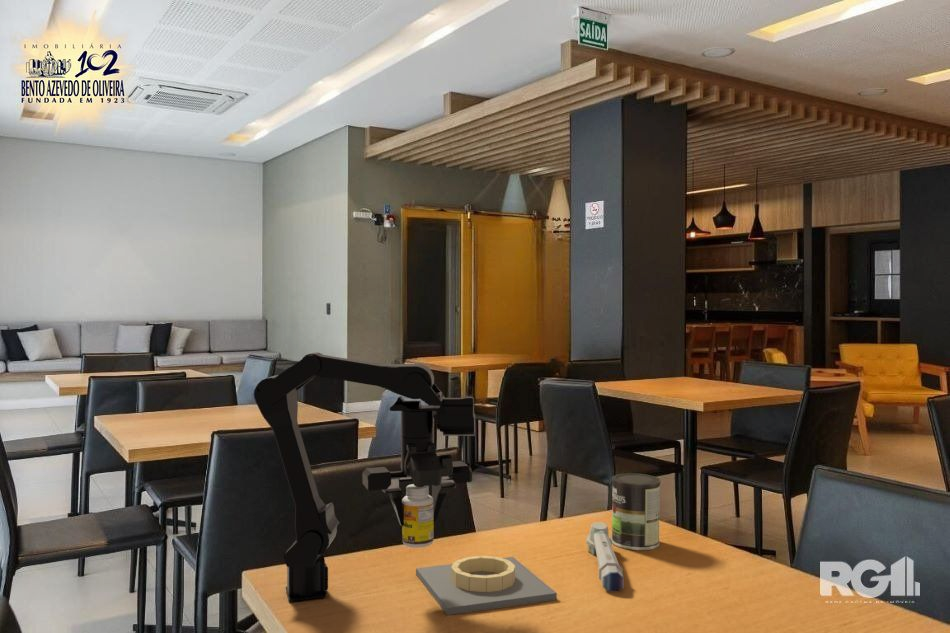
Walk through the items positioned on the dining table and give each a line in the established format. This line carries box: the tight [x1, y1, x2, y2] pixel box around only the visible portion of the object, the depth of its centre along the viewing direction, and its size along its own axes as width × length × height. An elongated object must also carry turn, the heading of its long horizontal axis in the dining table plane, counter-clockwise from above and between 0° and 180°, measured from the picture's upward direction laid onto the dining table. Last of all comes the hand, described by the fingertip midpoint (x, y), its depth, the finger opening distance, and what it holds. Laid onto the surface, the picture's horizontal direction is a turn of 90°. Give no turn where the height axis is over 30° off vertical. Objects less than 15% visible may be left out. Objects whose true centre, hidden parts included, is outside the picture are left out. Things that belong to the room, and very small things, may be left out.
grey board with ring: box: [415, 555, 558, 616], centre depth 138 cm, size 20×20×4 cm
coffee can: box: [611, 472, 661, 551], centre depth 163 cm, size 10×10×14 cm
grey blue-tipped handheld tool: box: [585, 521, 625, 592], centre depth 148 cm, size 5×7×25 cm
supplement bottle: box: [401, 483, 435, 549], centre depth 133 cm, size 6×6×10 cm
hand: (417, 523), depth 133 cm, fingers closed on supplement bottle, 6 cm apart
